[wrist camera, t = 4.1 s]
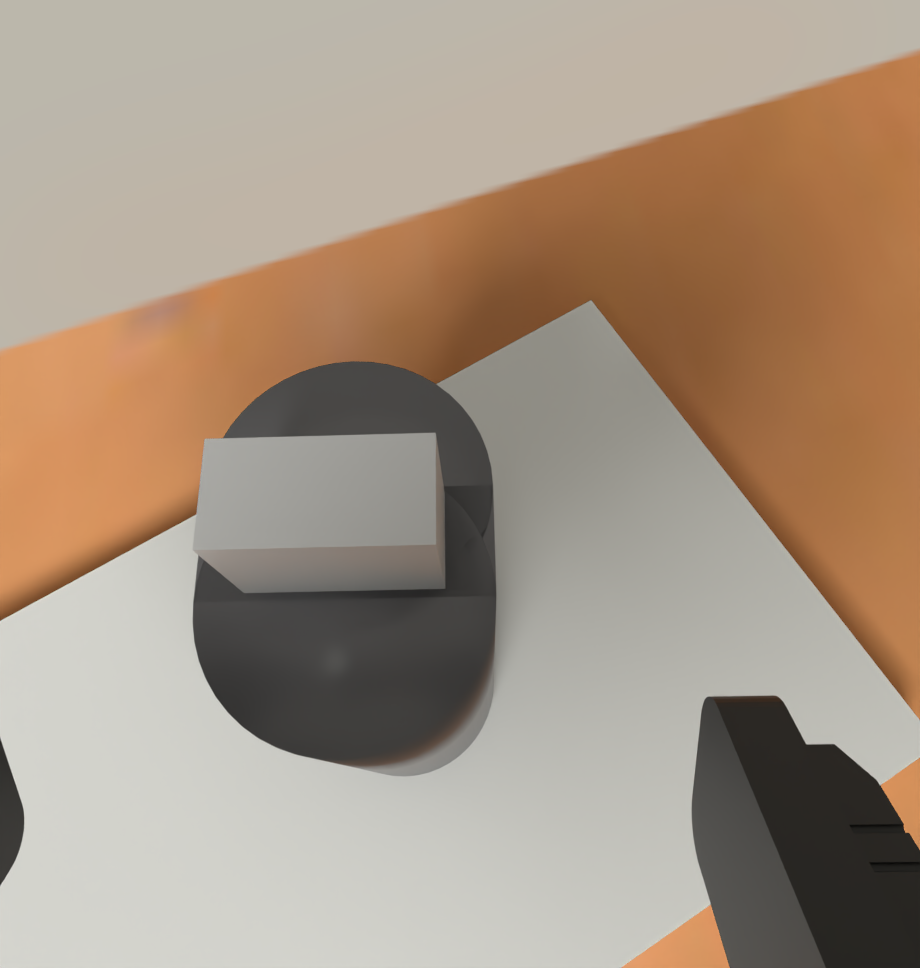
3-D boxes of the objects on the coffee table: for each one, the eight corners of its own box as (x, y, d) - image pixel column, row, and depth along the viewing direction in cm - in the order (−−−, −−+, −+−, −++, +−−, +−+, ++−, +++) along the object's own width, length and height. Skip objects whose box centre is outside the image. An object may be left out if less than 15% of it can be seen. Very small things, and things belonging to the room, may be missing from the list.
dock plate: (109, 1306, 14) (76, 1350, 13) (-92, 698, 18) (-130, 691, 17) (909, 747, 17) (938, 744, 16) (585, 326, 21) (591, 300, 20)
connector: (496, 774, 16) (503, 748, 7) (313, 777, 16) (105, 754, 7) (489, 531, 18) (489, 275, 9) (325, 535, 18) (169, 286, 9)
